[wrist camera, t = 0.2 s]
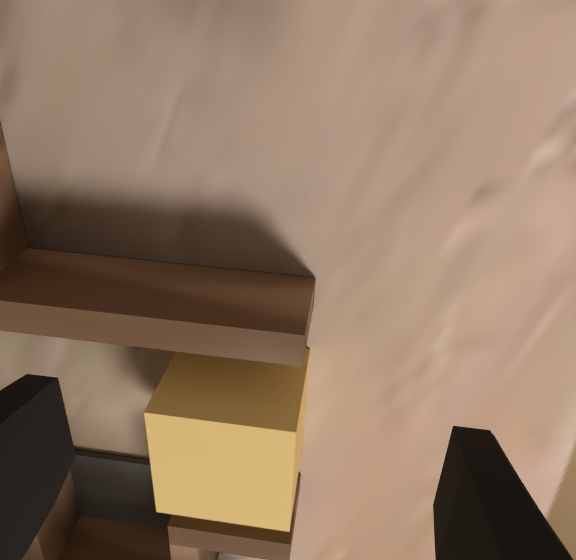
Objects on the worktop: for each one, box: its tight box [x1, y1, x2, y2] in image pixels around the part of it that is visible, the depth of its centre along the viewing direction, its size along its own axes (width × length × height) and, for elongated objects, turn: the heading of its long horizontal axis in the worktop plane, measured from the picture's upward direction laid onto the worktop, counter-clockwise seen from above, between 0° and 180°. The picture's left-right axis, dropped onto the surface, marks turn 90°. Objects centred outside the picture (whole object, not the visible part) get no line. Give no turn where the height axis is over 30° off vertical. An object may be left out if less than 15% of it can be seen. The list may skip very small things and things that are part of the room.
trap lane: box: [0, 123, 315, 560], centre depth 22 cm, size 21×23×4 cm
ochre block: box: [144, 348, 310, 532], centre depth 21 cm, size 5×5×4 cm
